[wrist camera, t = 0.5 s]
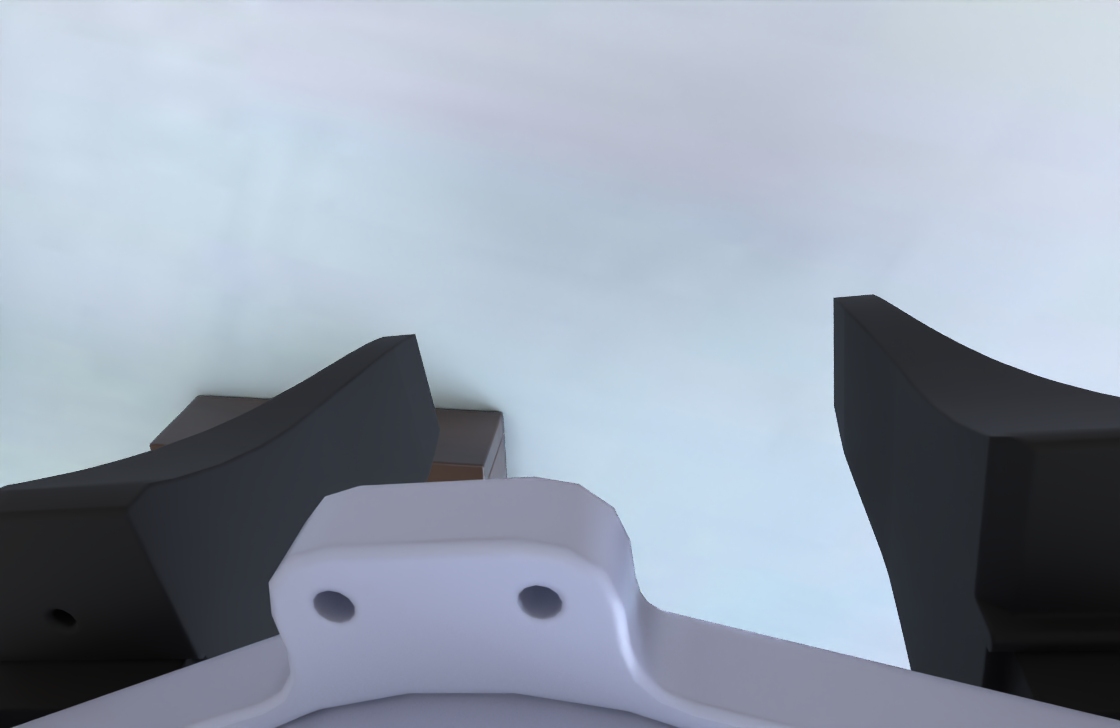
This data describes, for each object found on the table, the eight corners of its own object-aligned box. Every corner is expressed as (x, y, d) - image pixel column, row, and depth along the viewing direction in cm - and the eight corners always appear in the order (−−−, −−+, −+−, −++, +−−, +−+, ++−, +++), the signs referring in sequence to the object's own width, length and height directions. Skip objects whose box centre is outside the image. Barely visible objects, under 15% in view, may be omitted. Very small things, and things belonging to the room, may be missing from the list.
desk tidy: (519, 679, 33) (505, 745, 30) (267, 655, 34) (233, 717, 32) (503, 411, 27) (483, 465, 24) (197, 394, 28) (147, 444, 26)
